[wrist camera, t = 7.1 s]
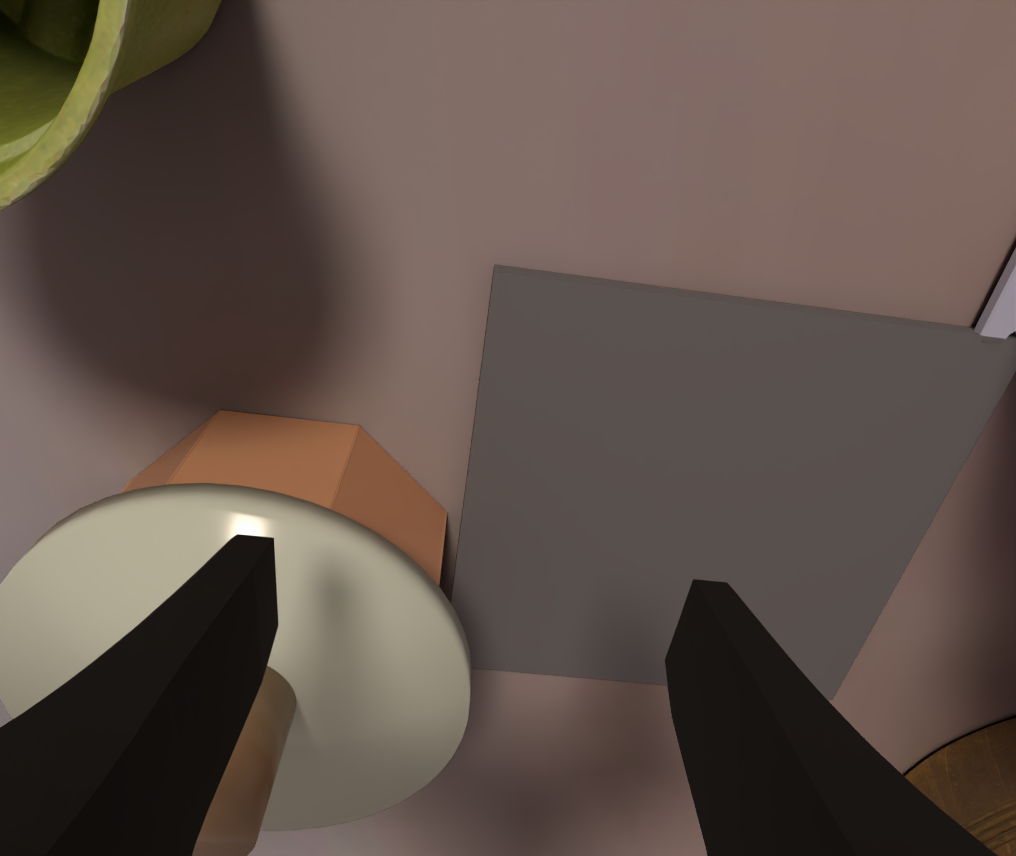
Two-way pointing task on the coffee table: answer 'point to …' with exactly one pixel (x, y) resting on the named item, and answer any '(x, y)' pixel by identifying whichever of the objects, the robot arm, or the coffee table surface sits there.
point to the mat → (701, 469)
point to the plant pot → (77, 72)
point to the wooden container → (976, 784)
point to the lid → (294, 656)
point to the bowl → (310, 474)
